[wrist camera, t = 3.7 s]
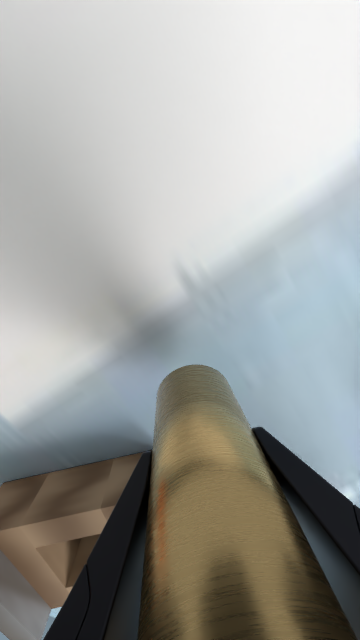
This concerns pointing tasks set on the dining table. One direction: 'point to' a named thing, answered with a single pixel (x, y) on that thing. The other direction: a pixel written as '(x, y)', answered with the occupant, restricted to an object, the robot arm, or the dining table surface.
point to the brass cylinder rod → (224, 530)
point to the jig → (52, 537)
